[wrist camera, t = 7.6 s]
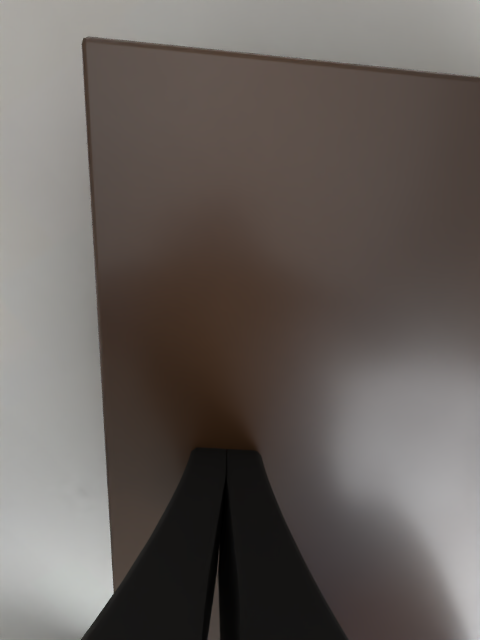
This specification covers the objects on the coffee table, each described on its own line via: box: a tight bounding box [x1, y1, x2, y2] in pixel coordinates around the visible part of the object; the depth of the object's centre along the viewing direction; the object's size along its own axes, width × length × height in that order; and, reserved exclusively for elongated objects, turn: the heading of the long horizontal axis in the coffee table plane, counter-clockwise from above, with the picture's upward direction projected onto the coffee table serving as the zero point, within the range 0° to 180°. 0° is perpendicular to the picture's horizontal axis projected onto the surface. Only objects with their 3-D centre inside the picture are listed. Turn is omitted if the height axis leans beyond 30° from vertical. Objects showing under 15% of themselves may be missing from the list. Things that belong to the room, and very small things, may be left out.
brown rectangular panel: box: [82, 37, 480, 640], centre depth 9 cm, size 10×16×1 cm, turn 175°
